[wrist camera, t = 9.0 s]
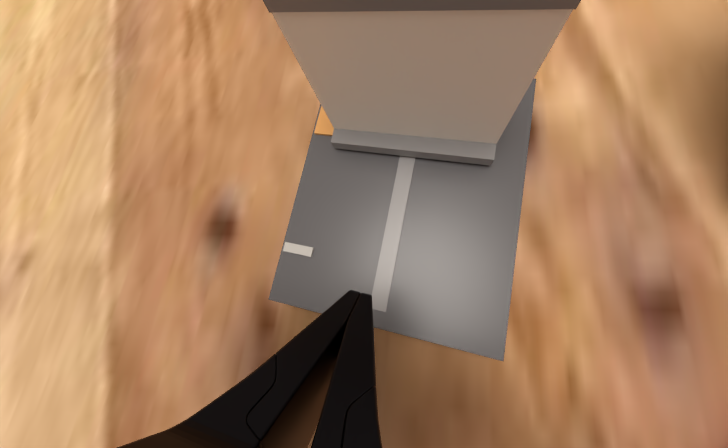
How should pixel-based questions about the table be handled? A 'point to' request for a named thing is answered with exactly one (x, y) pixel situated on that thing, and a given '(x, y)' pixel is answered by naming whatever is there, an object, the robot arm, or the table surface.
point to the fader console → (410, 237)
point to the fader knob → (421, 69)
